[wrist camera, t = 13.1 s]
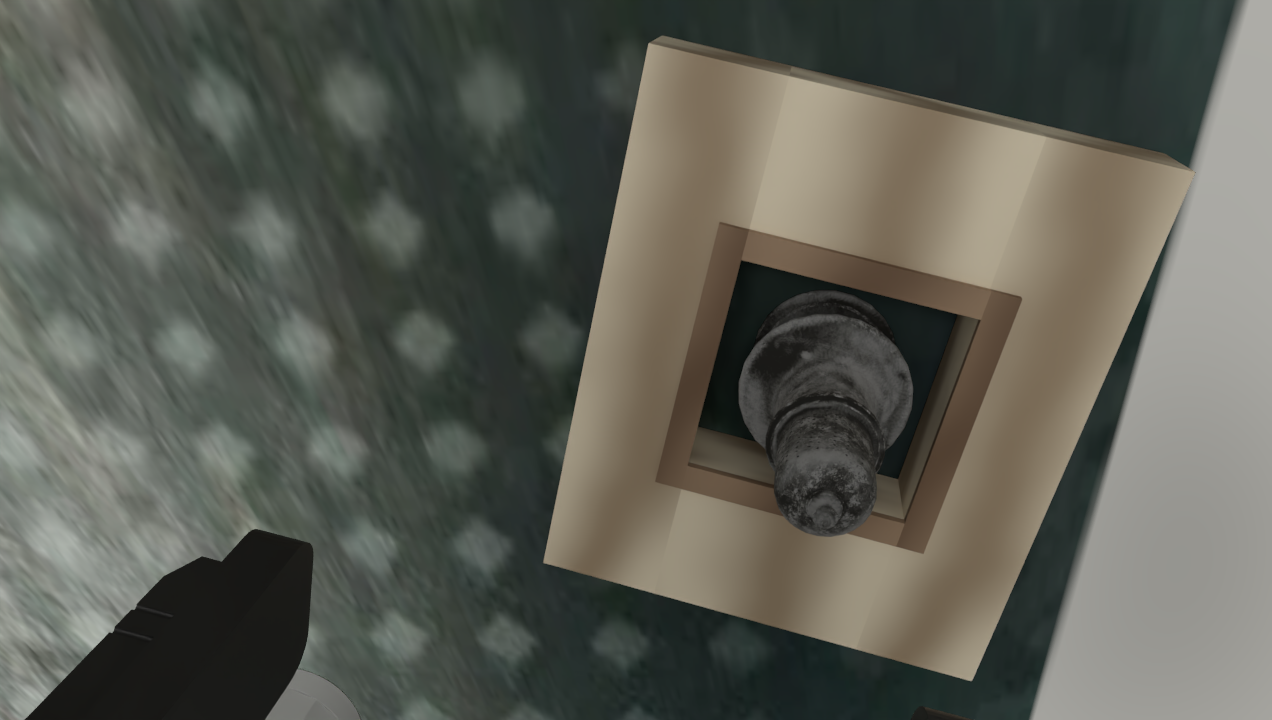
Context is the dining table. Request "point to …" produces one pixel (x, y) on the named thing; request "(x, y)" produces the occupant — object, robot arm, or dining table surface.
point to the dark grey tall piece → (825, 406)
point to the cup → (312, 700)
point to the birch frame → (870, 261)
